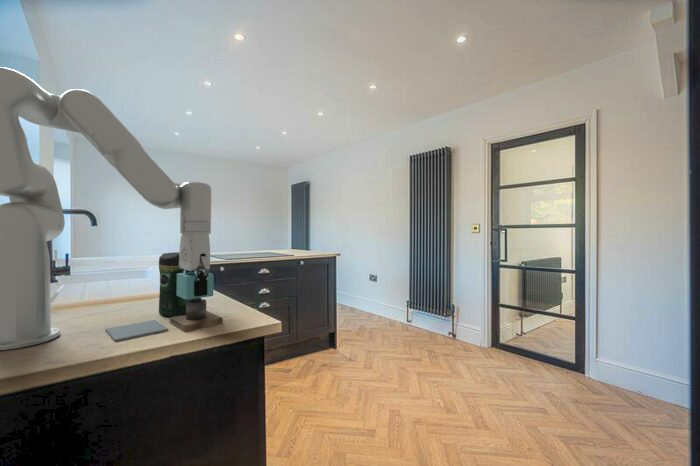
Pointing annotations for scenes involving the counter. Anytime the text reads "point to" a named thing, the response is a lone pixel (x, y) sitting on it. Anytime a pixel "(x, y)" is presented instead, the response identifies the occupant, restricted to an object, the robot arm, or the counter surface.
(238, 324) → the counter surface
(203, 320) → the peg stand
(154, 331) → the mat
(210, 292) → the teal boxy piece
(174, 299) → the coffee jar
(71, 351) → the counter surface
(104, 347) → the counter surface
